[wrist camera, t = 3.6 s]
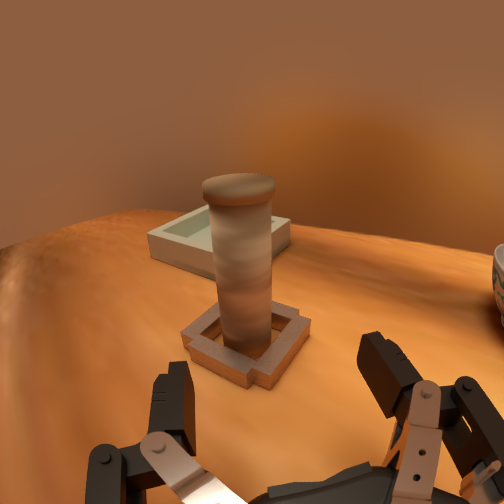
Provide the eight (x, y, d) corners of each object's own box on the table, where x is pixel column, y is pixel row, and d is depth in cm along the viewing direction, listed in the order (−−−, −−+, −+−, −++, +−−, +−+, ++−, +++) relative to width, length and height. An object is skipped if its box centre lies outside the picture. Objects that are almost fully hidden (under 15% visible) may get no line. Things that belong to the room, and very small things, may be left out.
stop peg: (210, 348, 26) (187, 186, 19) (240, 319, 30) (231, 171, 23) (256, 370, 24) (249, 194, 17) (283, 336, 27) (287, 177, 20)
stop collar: (178, 352, 25) (174, 337, 25) (235, 302, 32) (234, 287, 31) (264, 397, 21) (264, 382, 20) (312, 330, 28) (314, 314, 27)
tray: (151, 257, 43) (146, 233, 41) (209, 225, 53) (207, 204, 51) (237, 288, 35) (235, 259, 33) (289, 243, 45) (290, 219, 43)
